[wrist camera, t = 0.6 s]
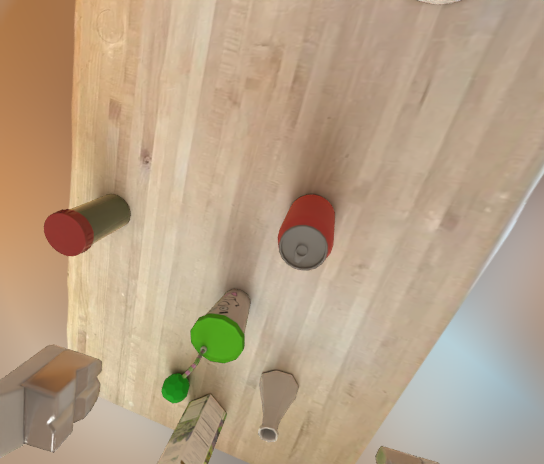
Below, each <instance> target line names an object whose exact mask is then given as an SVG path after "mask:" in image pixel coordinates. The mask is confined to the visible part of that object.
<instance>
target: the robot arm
mask: <svg viewBox="0 0 544 464" xmlns="http://www.w3.org/2000/svg"><path fill="white" fill-rule="evenodd" d="M418 1H421V2H424V3H429V4H448V3H453V2H457V1H461V0H418ZM101 371H102V361H100V360H99V359H97V358H94V357H91V356H88V355H85V354H82V353H79V352H76V351H73V350H70V349H66V348H63V347H60V346H57V345H54V344H53V345H49V346H47V347H45V348H44V349H42V350H41V351H40V352H38V353H37V354H36V355H34V356H33V357H31V358H30V359H29V360H27V361H26V362H24V363H23V364H22V365H20V366H19V367H17V368H16V369H15V370H13V371H12V372H11V373H9V374H8V375H6V376H5V377H4V378H2V379H1V380H0V458H1V457H3V456H4V455H6V454H8V453H10V452H12V451H14V450H16V449H18V448H19V447H21V446H23V444H27V445H30V446H33V447H37V448H40V449H43V450H47V451H50V452H53V453H54V452H55V451H56V450H57V449H58V447H59V446H60V445H61V444H62V443H63V442H64V441H65V439H66V438H67V437H68V436H69V435H70V434H71V433H72V431H73V423H75V422H77V421H79V420H81V419H84V418H85V417H86V416H87V414H88V413H89V412H90V411H91V409H92V407H93V406H94V404H95V402H96V400H97V398H98V395H99V392H100V382H99V380H98V379H97V376H98V375H99V373H100V372H101ZM375 457H376V463H377V464H439V463H438V462H435V461H431V460H427V459H424V458H421V457H417V456H414V455H410V454H407V453H403V452H400V451H397V450H394V449H390V448H387V447H383V446H381V447H380V448H379V450H378V452H377V454H376V456H375Z"/></svg>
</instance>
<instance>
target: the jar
mask: <svg viewBox="0 0 544 464" xmlns="http://www.w3.org/2000/svg"><path fill="white" fill-rule="evenodd" d="M70 210H74V211H77V212H78V213H80V214H82V215H83V216H84V217H85V218H86V219H87V220H88V221H89V223H90V224H91V226H92V229H93V232H94V240H93V244H94V243H95V242H97V241H99V240H101V239H102V238H104V237H106V236H107V235H109V234H111V233H113V232H114V231H116V230H118V229H120V228H121V227H123V226H125V225H126V224H127V223H128V222H129V220H130V216H131V213H130V209H129V206H128V204H127V203H126V201H125V200H124V199H122V198H121V197H120V196H118V195H115V194H107V195H105V196H102V197H100V198H97V199H95V200H92V201H90V202H87V203H85V204H82V205H80V206H77V207H75V208H72V209H70Z"/></svg>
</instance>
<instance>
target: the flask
mask: <svg viewBox="0 0 544 464" xmlns="http://www.w3.org/2000/svg"><path fill="white" fill-rule="evenodd" d="M259 386H260V393H261V400H262V408H263V423H262V425H261V426H260V428H259V432H258V435H259V436H260V438H261V440H264V441H267V442H273V441H277V437H278V431H277V429H278V425H279V423H280V421H281V419H282V417H283V416H284V414H285V413H286V411H287V410H288V408H289V407H290V405H291V404H292V403H293V401H294V400H295V398H296V394H297V391H298V388H299V387H298V385H297V383H296V382H295V380H294V378H293V376H292V375H290V374H287V373H283V372H280V371H277V370H276V371H272V372H268V373H263V374H262V377H261V381H260V385H259Z"/></svg>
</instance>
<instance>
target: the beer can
mask: <svg viewBox="0 0 544 464" xmlns="http://www.w3.org/2000/svg"><path fill="white" fill-rule="evenodd" d="M334 224H335V212H334V210H333V207H332V205H331V204H330V203H329V202H328V200H326V199H324V198H323V197H321V196H318V195H314V194H313V195H305V196H302V197H299V198H298V199H297V200H296V201H294V203H293V204H292V206H291V207H290V209H289V211H288V213H287V215H286V217H285V219H284V222H283V224H282V226H281V228H280V230H279V234H278V247H279V252H280V255H281V257H282V259H283V260H284V261H285V262H286V263H287V264H288V265H289V266H291V267H292V268H295V269H298V270H311V269H315V268H317V267H318V266H320V265H321V264H322V263H323V262H324V261H325V259H326V258H327V257H328V256H329V254H330V253H331V250H332V247H333V240H334Z"/></svg>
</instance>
